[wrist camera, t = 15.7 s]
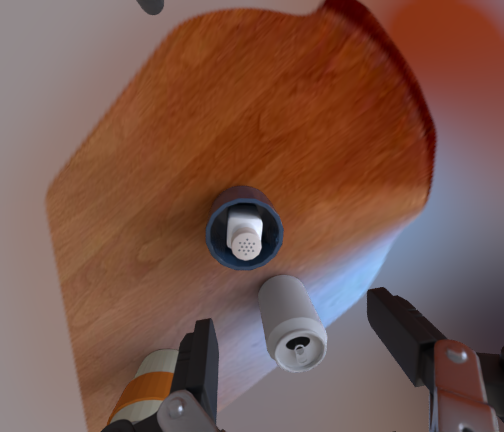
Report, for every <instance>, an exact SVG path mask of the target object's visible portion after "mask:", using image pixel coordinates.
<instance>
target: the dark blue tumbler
mask: <svg viewBox="0 0 504 432" xmlns="http://www.w3.org/2000/svg"><path fill="white" fill-rule="evenodd" d="M234 204H235V205H248V206H255V207H257V210H258V212H259V215H260V218H261V220H262V235H261V246H262V248H261V250H260V253H259V255H257V256H256V257H255V258H253V259H250V260H242V259H238V258H237V257H236V256H235V255H234V254H233V252H232V249H231V248H229V247H228V246H227V218H228V208H229V206H231V205H234ZM283 231H284V230H283V226H282V223H281V220H280V217H279V215H278V213H277V212H276V210H275V208H274V207H273V205H272V203H271V202H270V200H269V199H268V198H267V197H266V196H265V195H264V194H263V193H262V192H261V191H259V190H257V189H256V188H253V187H249V186H234V187H231V188H229V189H226V190H225V191H223V192H222V193H221V194H219V195H218V196H217V198H216V199H215V200H214V202H213V204H212V206H211V209H210V211H209V216H208V220H207V225H206V244H207V246H208V249H209V251H210V253H211V255H212V256H213V257H214V258H215V259H216V260H217V261H218V262H219V263H220V264H222V265H223V266H226V267H228V268H231V269H234V270H253V269H256V268H258V267H261V266H264V265H265V264H267V263H268V262H269V261H270V260H271V259H273V258H274V257H275V256H276V254H277V252H278V251H279V249H280V247H281V245H282V242H283Z"/></svg>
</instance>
